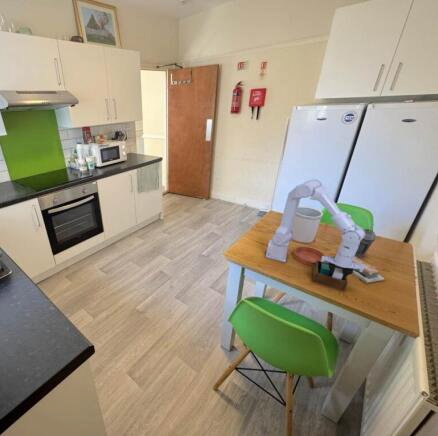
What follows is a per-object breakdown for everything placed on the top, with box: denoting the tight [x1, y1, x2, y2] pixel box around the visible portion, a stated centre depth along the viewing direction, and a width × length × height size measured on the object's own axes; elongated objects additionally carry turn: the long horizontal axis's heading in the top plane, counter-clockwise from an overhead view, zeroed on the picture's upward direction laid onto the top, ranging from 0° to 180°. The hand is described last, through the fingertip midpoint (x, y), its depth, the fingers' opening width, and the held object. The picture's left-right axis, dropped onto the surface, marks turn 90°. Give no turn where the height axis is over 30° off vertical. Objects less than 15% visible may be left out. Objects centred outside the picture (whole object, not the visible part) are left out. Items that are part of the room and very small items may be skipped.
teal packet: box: [319, 263, 330, 276], centre depth 112 cm, size 3×5×5 cm
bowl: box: [292, 245, 326, 267], centre depth 125 cm, size 14×14×3 cm
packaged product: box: [351, 256, 385, 284], centre depth 115 cm, size 18×5×10 cm
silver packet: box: [332, 268, 343, 279], centre depth 107 cm, size 3×5×5 cm
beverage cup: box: [355, 223, 377, 259], centre depth 122 cm, size 7×7×20 cm
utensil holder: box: [291, 205, 324, 244], centre depth 140 cm, size 15×15×18 cm
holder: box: [312, 260, 349, 292], centre depth 110 cm, size 11×11×6 cm
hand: (335, 278), depth 107 cm, fingers closed on silver packet, 3 cm apart
